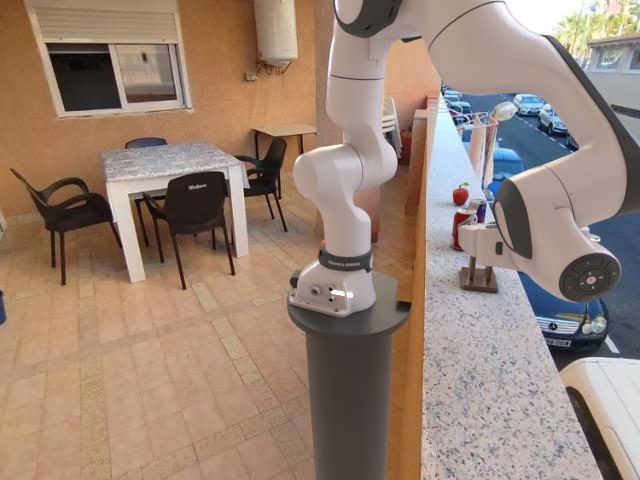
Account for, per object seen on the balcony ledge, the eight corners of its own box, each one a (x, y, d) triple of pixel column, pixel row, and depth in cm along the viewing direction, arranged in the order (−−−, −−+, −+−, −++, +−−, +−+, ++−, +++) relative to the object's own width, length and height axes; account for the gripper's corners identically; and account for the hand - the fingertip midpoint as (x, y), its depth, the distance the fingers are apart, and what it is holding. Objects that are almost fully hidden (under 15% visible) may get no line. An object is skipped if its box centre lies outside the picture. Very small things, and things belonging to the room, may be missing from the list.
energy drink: (483, 239, 121) (489, 203, 116) (466, 238, 122) (471, 203, 117) (480, 232, 126) (485, 198, 121) (463, 232, 127) (467, 198, 122)
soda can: (447, 248, 116) (451, 212, 111) (454, 240, 121) (458, 205, 116) (470, 253, 112) (475, 216, 107) (476, 245, 117) (481, 209, 112)
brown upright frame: (497, 293, 92) (507, 238, 86) (462, 289, 94) (470, 235, 88) (492, 273, 100) (501, 222, 94) (461, 270, 103) (467, 220, 97)
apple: (446, 204, 154) (449, 180, 150) (456, 200, 157) (459, 177, 153) (463, 208, 148) (466, 184, 144) (473, 205, 152) (476, 181, 148)
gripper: (609, 222, 57) (564, 207, 71) (470, 229, 60) (452, 213, 74) (604, 261, 59) (561, 239, 72) (469, 265, 62) (452, 243, 75)
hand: (505, 226), depth 73 cm, fingers open, 8 cm apart
